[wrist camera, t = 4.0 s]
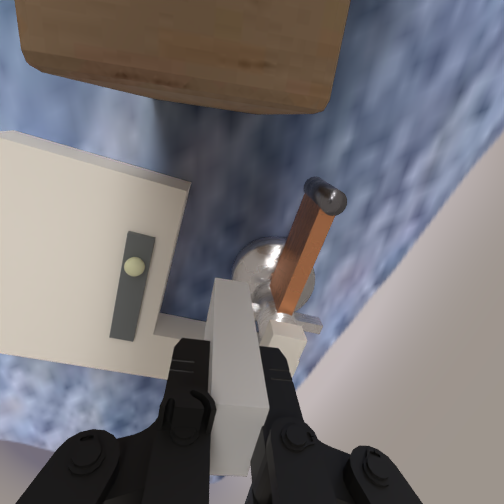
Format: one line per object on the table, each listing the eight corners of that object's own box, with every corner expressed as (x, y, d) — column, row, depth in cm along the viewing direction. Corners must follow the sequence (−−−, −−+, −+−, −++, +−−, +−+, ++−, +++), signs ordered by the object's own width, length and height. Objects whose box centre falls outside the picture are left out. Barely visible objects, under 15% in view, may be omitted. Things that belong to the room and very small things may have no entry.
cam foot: (290, 325, 39) (308, 381, 31) (215, 309, 37) (214, 364, 29) (351, 184, 32) (395, 208, 24) (264, 156, 30) (280, 172, 22)
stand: (13, 130, 28) (-114, 139, 17) (343, 226, 34) (396, 276, 24) (9, 326, 35) (-80, 415, 25) (276, 373, 42) (295, 459, 32)
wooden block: (152, -46, 24) (-78, -582, 5) (279, -19, 25) (436, -377, 7) (151, 98, 28) (15, 67, 9) (261, 115, 29) (330, 116, 11)
